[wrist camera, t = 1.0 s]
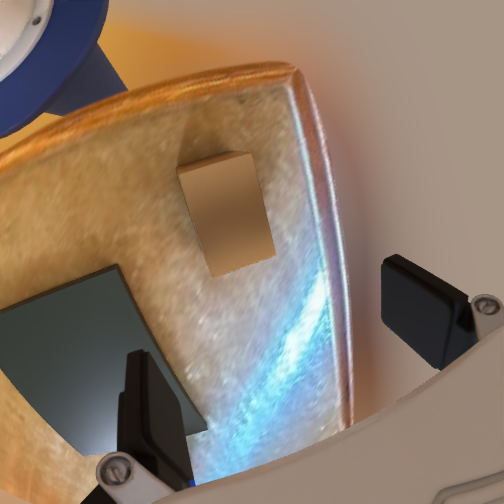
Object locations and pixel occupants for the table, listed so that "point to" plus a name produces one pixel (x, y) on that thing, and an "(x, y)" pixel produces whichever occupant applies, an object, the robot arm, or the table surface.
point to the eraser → (227, 211)
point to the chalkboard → (82, 357)
